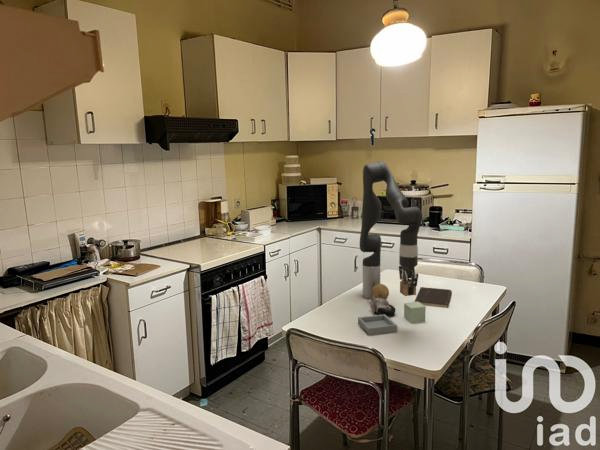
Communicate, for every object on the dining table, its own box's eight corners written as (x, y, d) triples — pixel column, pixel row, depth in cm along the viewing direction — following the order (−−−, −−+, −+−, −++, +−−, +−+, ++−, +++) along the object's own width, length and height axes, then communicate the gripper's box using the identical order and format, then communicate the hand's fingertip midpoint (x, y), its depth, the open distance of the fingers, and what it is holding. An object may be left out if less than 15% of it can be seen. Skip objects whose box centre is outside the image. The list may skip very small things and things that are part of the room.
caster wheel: (395, 321, 214) (375, 320, 212) (388, 308, 224) (369, 306, 222) (398, 309, 211) (378, 307, 210) (391, 296, 222) (371, 295, 220)
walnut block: (399, 292, 198) (400, 281, 197) (410, 291, 199) (410, 280, 198) (405, 296, 193) (405, 284, 192) (415, 294, 194) (416, 283, 193)
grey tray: (357, 323, 206) (357, 317, 205) (384, 320, 208) (384, 314, 208) (368, 335, 193) (368, 328, 193) (397, 331, 196) (397, 325, 195)
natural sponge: (380, 307, 224) (380, 288, 222) (366, 303, 231) (366, 284, 229) (392, 303, 230) (392, 284, 228) (378, 298, 237) (378, 280, 235)
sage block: (404, 317, 212) (404, 303, 210) (417, 315, 213) (418, 301, 212) (410, 323, 205) (411, 308, 204) (425, 321, 206) (425, 306, 205)
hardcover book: (414, 305, 228) (414, 301, 227) (420, 291, 248) (420, 287, 248) (448, 309, 222) (448, 304, 221) (451, 293, 242) (451, 289, 242)
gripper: (393, 251, 198) (392, 288, 202) (408, 259, 185) (407, 299, 188) (408, 249, 200) (408, 286, 203) (424, 257, 186) (424, 297, 190)
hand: (407, 292), depth 196 cm, fingers closed on walnut block, 5 cm apart
